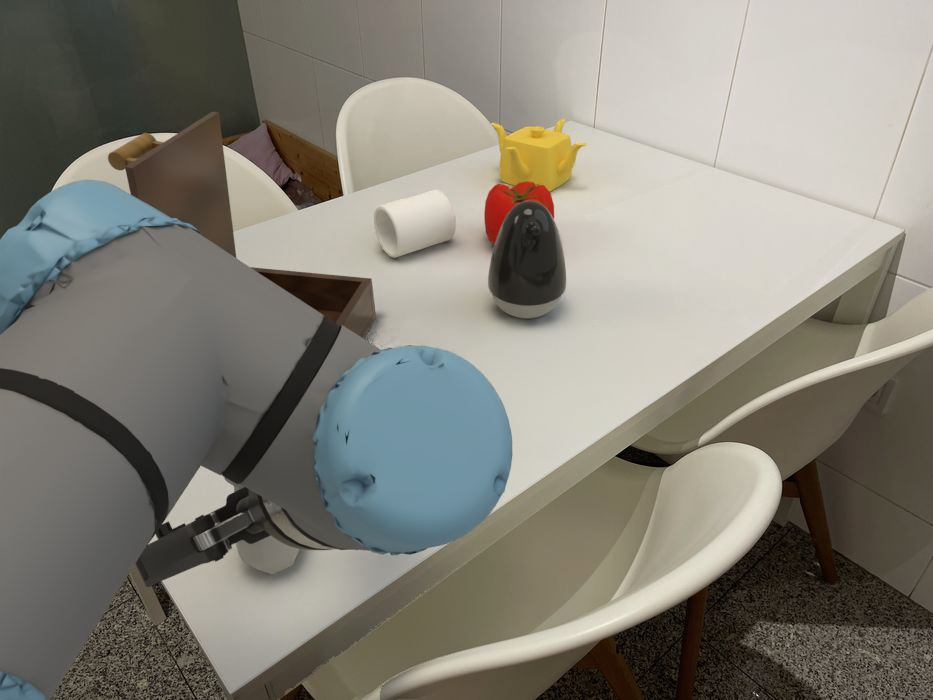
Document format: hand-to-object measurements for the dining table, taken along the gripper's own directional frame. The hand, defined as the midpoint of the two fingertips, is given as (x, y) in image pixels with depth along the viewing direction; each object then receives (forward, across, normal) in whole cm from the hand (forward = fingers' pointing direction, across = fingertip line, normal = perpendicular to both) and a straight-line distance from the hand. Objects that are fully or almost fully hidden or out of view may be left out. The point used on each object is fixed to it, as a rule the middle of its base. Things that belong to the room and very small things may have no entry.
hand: (264, 501), depth 57 cm
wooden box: (+27, +14, +16) cm, 34 cm away
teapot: (+40, +74, +29) cm, 89 cm away
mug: (+36, +43, +25) cm, 61 cm away
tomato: (+28, +56, +17) cm, 65 cm away
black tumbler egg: (+18, +44, +6) cm, 48 cm away
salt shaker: (+7, 0, -5) cm, 8 cm away
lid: (+19, +9, +31) cm, 38 cm away
